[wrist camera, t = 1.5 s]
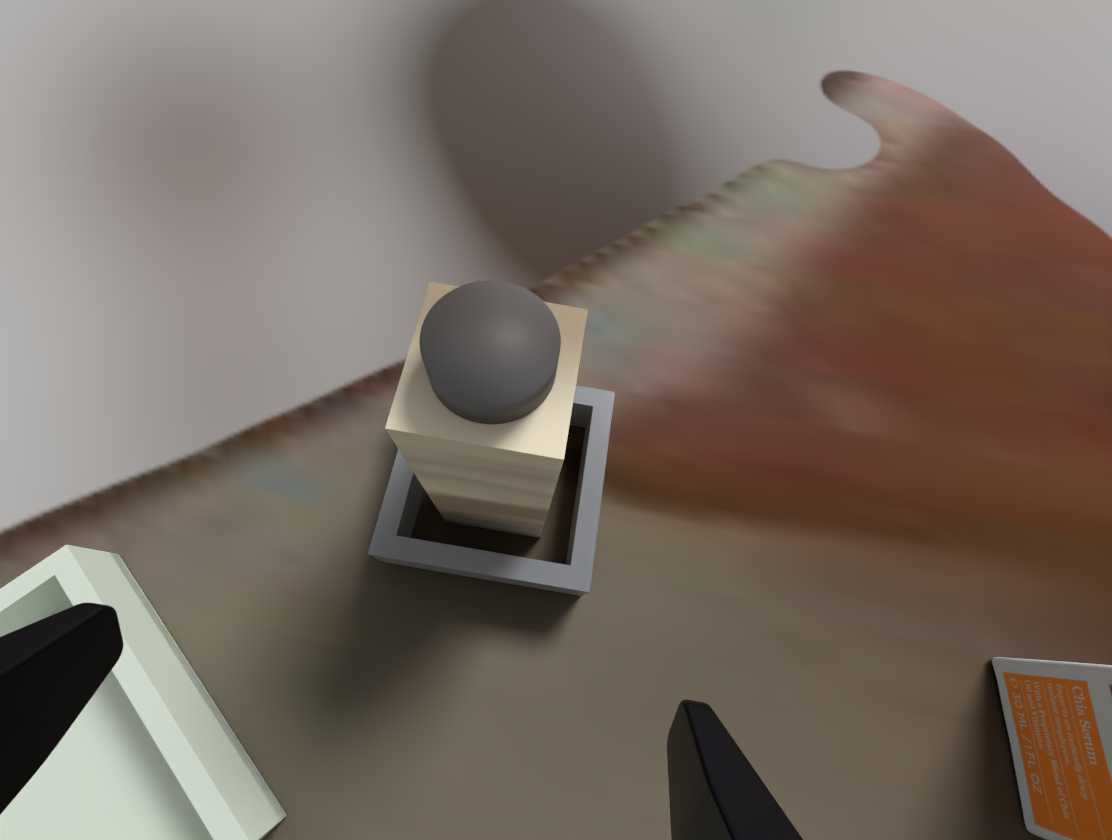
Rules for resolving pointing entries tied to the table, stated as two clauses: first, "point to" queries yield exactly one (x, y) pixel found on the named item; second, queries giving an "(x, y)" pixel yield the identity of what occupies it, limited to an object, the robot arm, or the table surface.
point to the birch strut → (489, 402)
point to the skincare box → (1060, 744)
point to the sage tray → (132, 729)
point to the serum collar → (571, 578)
